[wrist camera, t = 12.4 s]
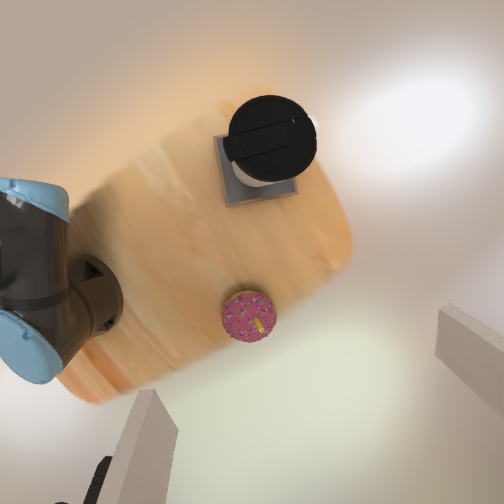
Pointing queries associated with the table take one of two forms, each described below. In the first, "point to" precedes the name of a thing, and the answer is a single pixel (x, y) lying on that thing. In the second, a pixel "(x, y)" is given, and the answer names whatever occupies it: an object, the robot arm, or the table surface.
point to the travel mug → (270, 141)
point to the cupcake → (249, 316)
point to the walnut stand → (243, 193)
